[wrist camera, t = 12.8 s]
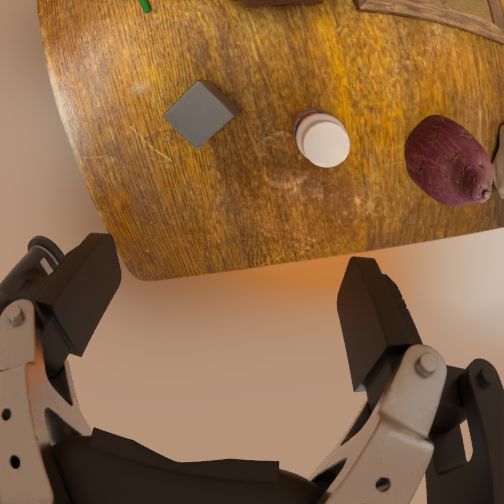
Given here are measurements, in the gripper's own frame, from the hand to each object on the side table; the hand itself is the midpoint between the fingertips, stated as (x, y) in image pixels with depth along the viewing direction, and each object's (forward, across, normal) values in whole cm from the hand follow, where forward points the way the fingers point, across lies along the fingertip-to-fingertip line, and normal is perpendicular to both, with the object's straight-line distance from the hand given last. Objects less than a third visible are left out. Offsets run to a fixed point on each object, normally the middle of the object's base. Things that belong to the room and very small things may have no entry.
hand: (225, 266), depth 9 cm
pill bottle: (+24, -6, -2) cm, 25 cm away
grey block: (+24, +5, -3) cm, 24 cm away
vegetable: (+24, -23, -2) cm, 33 cm away
